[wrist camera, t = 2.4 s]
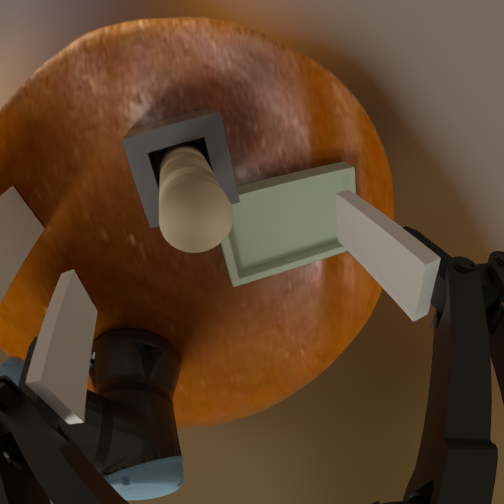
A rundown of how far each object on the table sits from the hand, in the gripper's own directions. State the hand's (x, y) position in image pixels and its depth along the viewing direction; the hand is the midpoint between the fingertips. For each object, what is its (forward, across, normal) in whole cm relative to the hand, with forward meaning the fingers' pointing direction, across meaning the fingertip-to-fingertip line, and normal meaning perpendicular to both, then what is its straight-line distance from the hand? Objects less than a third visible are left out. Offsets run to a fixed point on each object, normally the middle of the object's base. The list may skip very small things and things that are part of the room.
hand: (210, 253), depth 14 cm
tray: (+22, +10, -12) cm, 27 cm away
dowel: (+21, 0, 0) cm, 21 cm away
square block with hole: (+22, 0, 0) cm, 22 cm away
